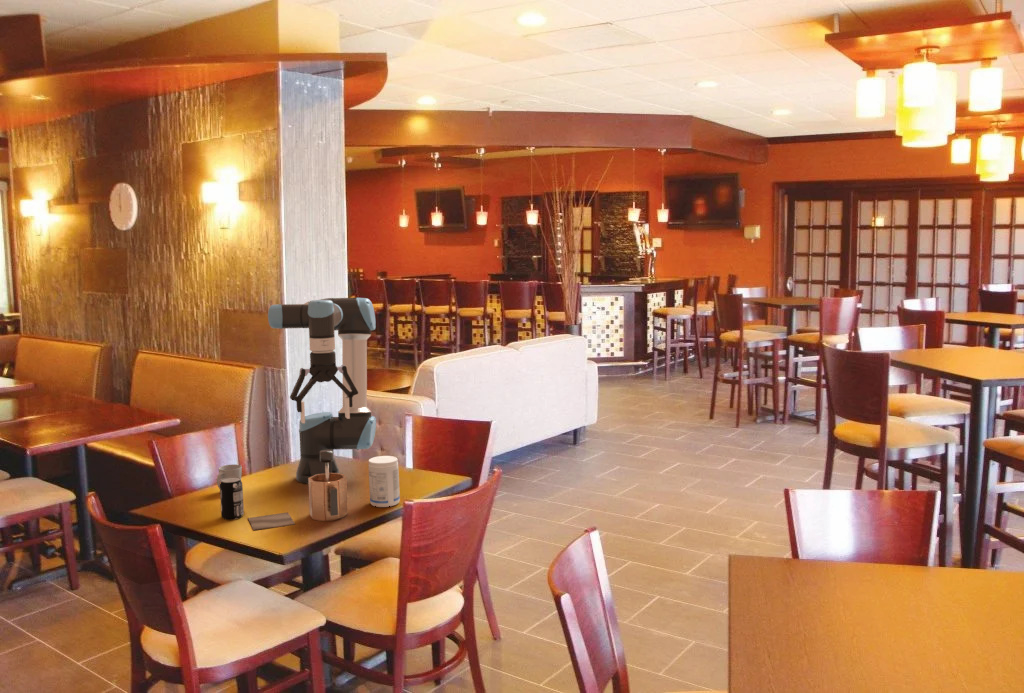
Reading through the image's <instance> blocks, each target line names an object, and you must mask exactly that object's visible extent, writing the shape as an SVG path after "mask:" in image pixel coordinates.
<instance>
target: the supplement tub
mask: <svg viewBox="0 0 1024 693" xmlns="http://www.w3.org/2000/svg"><path fill="white" fill-rule="evenodd" d="M367 468H368V487H369V489H368V490H369V503H370V504H371V506H373V507H375V506H376V507H377V508H389V506H390V507H393V506H396V505H398V504H399V503H400V501H401V500H400V495H401V493H400V473H399V460H398V458H397V457H396V456H392V455H379V456H374V457H371V458H369V459H368V467H367Z"/></svg>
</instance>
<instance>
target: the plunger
mask: <svg viewBox="0 0 1024 693" xmlns="http://www.w3.org/2000/svg"><path fill="white" fill-rule="evenodd" d="M332 461H333V450H322V451H320V462H323V463H325V472H326V482H329V464H328V462H332Z"/></svg>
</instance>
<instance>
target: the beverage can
mask: <svg viewBox="0 0 1024 693" xmlns="http://www.w3.org/2000/svg"><path fill="white" fill-rule="evenodd" d="M240 479H241V480H240ZM243 492H244V490H243V482H242V477H241V478H240V477H227V478H223V479H221V482H220V489H219V494H220V495H219V496H220V513H221V518H223V519H224V520H227V521H231V520H232V521H233V520H238V519H241V518H242V517H243V516H244V515H245V510H244V493H243Z"/></svg>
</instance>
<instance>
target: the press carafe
mask: <svg viewBox="0 0 1024 693" xmlns="http://www.w3.org/2000/svg"><path fill="white" fill-rule="evenodd" d="M307 484H308V500H309V501H308V503H309V504H308V505H309V516H310V517H311V519H312V520H314V521H319V522H330V521H338V520H341V519H343V518H345V517H346V516H347V515H348V513H349V512H348V511H349V510H348V488H347V485H348V484H347V476H346V474H344V473H340V472H339V473H329V482H326V473H324V474H317V475H314V476H312V477H310V478H308V483H307Z"/></svg>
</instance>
